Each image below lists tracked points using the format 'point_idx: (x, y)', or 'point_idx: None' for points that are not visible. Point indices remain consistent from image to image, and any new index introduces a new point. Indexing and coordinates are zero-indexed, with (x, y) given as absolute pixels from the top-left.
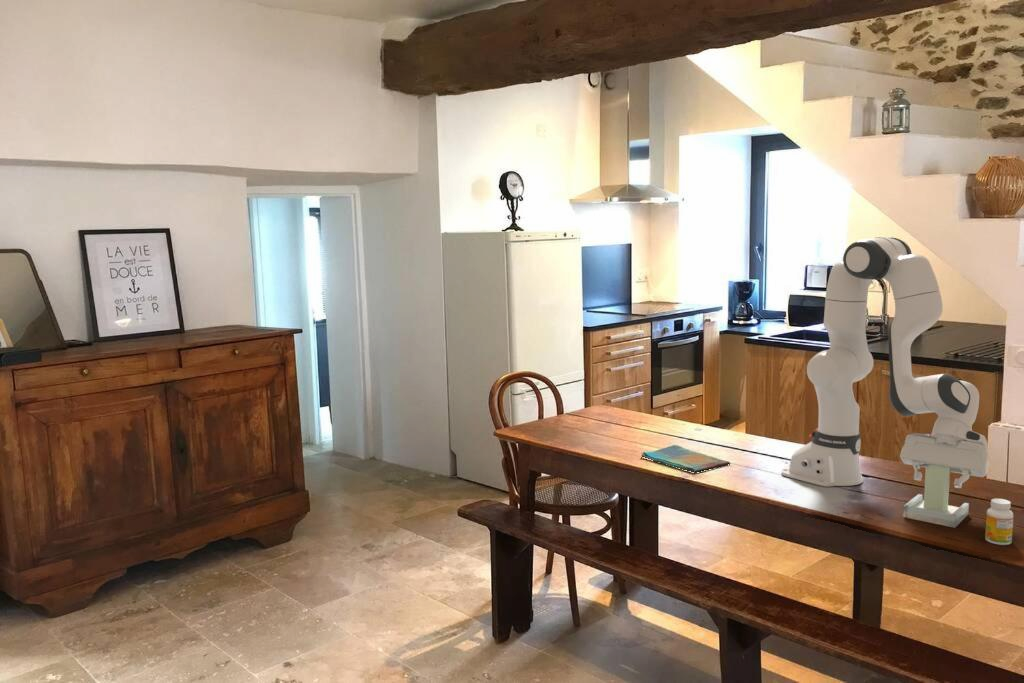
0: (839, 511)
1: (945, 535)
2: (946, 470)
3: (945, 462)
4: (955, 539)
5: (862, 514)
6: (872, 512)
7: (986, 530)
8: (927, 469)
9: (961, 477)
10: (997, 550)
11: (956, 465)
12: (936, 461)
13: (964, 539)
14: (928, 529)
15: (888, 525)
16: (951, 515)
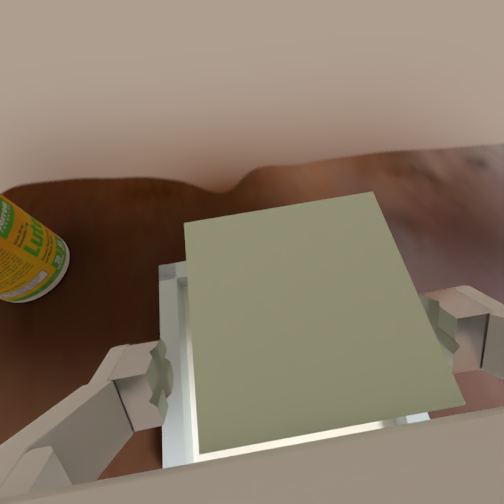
0: (494, 158)
1: (174, 202)
2: (191, 285)
3: (274, 475)
4: (143, 194)
5: (437, 183)
6: (437, 220)
7: (44, 227)
8: (351, 196)
9: (81, 399)
10: (33, 200)
11: (81, 493)
12: (432, 441)
13: (122, 211)
14: (230, 210)
15: (324, 161)
16: (174, 263)
